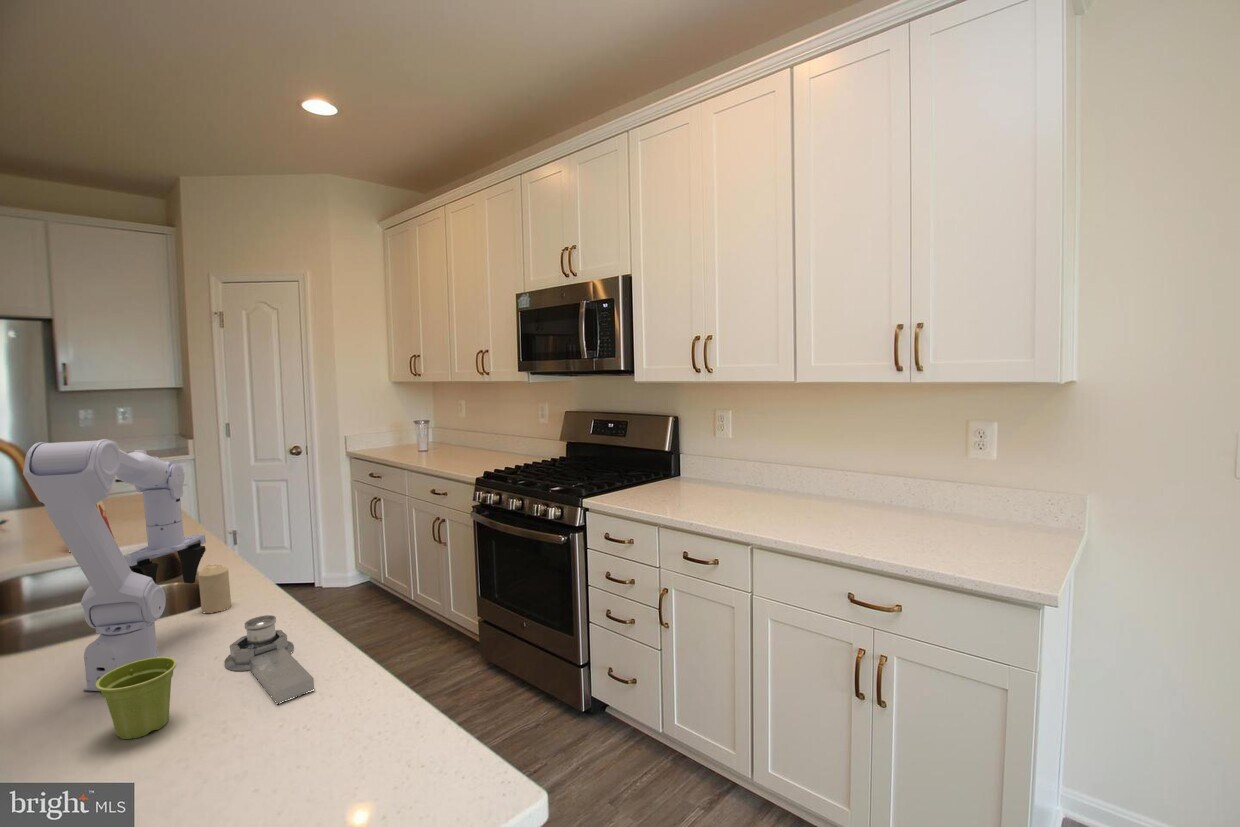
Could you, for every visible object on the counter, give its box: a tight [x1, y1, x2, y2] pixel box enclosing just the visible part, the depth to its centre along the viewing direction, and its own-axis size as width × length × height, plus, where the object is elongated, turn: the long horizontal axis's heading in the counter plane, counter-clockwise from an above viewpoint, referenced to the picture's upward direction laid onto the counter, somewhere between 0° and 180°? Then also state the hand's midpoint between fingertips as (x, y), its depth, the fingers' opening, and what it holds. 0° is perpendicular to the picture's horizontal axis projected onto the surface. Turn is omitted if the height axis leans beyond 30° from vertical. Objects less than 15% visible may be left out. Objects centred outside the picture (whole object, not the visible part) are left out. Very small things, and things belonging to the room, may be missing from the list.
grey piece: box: [223, 629, 315, 704], centre depth 106 cm, size 26×11×3 cm, turn 45°
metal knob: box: [243, 614, 277, 649], centre depth 112 cm, size 5×5×6 cm
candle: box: [197, 564, 232, 614], centre depth 134 cm, size 6×6×10 cm
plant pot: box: [96, 656, 177, 740], centre depth 90 cm, size 9×9×9 cm
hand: (170, 589), depth 119 cm, fingers open, 7 cm apart
